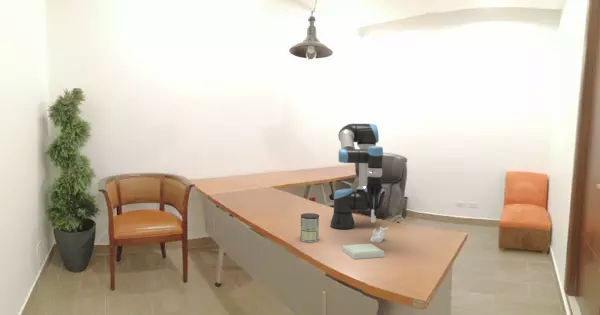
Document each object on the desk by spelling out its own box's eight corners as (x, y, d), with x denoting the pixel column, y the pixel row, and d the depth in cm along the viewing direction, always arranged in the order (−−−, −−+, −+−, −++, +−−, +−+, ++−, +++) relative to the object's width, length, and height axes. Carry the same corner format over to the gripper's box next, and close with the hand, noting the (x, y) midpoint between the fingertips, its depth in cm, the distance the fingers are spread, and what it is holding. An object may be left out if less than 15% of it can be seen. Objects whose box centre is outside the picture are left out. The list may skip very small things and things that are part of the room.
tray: (342, 250, 206) (342, 245, 206) (370, 248, 210) (370, 243, 210) (353, 259, 192) (354, 253, 192) (383, 256, 197) (383, 250, 197)
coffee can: (297, 238, 229) (298, 213, 228) (314, 236, 233) (314, 212, 232) (304, 242, 219) (304, 217, 218) (321, 241, 223) (322, 216, 222)
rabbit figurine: (384, 239, 229) (384, 223, 229) (393, 243, 223) (393, 226, 222) (367, 242, 224) (367, 225, 223) (375, 245, 217) (376, 228, 216)
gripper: (359, 175, 206) (358, 221, 208) (384, 177, 199) (382, 224, 201) (365, 174, 213) (364, 218, 214) (389, 176, 206) (387, 222, 207)
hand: (373, 221), depth 207 cm, fingers closed
